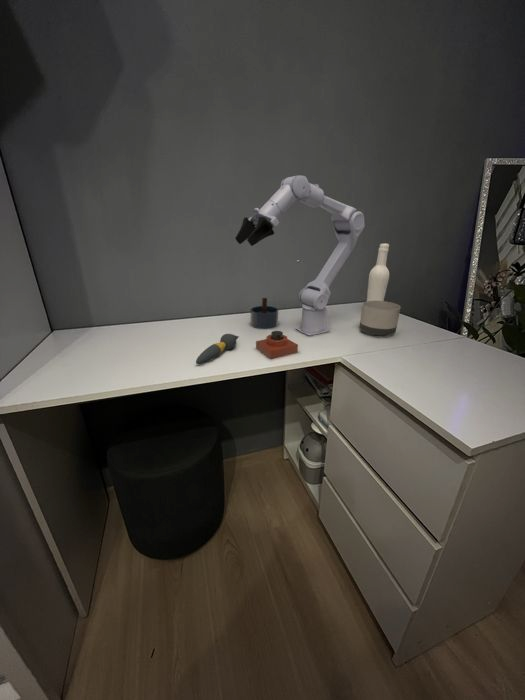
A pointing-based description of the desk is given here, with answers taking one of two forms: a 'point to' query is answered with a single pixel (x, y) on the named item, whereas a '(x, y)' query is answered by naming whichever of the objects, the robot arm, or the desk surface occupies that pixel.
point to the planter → (379, 318)
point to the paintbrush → (217, 348)
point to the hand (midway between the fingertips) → (243, 242)
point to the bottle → (379, 276)
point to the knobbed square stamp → (276, 347)
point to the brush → (264, 306)
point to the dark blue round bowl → (264, 317)
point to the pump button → (276, 335)
